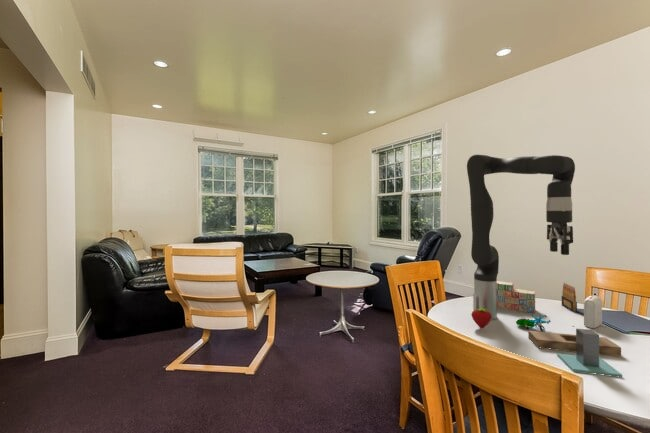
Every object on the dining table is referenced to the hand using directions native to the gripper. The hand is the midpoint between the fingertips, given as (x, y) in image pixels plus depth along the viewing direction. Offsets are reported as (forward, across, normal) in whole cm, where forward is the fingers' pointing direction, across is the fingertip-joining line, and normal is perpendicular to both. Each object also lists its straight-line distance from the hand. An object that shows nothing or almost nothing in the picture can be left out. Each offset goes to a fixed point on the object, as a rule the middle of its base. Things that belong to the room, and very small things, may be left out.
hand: (559, 253), depth 108 cm
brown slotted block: (+33, +4, +2) cm, 33 cm away
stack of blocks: (+34, -39, -5) cm, 52 cm away
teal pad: (+33, +18, 0) cm, 38 cm away
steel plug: (+32, +18, 0) cm, 37 cm away
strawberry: (+33, -6, -25) cm, 42 cm away
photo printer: (+33, -22, +21) cm, 45 cm away
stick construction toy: (+34, -10, -5) cm, 35 cm away
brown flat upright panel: (+33, -44, +22) cm, 59 cm away
